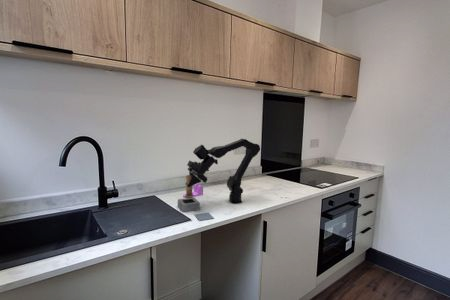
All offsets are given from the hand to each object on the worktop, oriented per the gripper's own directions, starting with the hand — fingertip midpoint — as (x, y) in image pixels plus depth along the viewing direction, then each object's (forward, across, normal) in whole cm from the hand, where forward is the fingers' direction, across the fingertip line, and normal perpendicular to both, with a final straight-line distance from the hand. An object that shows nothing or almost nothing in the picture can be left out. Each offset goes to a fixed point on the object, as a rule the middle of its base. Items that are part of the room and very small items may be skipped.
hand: (186, 185), depth 135 cm
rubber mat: (+6, +14, +13) cm, 20 cm away
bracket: (+3, -21, +17) cm, 27 cm away
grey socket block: (+9, -1, +10) cm, 14 cm away
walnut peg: (+4, 0, +6) cm, 7 cm away
